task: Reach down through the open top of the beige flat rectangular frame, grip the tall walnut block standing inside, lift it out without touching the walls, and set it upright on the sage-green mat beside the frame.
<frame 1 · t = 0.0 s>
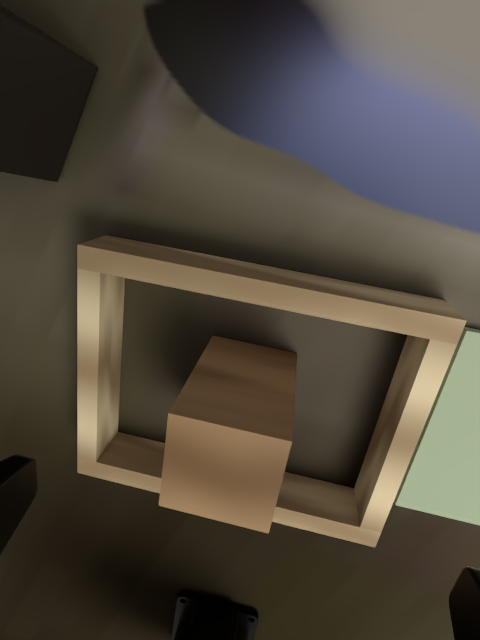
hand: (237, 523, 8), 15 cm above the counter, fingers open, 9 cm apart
beige flat rectangular frame: (247, 381, 24), on the counter
phone stand: (4, 80, 20), on the counter
walnut block: (236, 419, 20), in the beige flat rectangular frame
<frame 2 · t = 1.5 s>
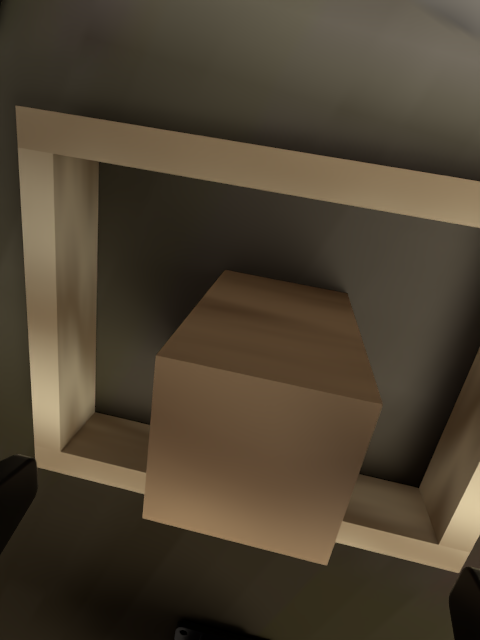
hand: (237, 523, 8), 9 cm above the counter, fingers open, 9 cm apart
beige flat rectangular frame: (273, 337, 17), on the counter
walnut block: (264, 384, 13), in the beige flat rectangular frame
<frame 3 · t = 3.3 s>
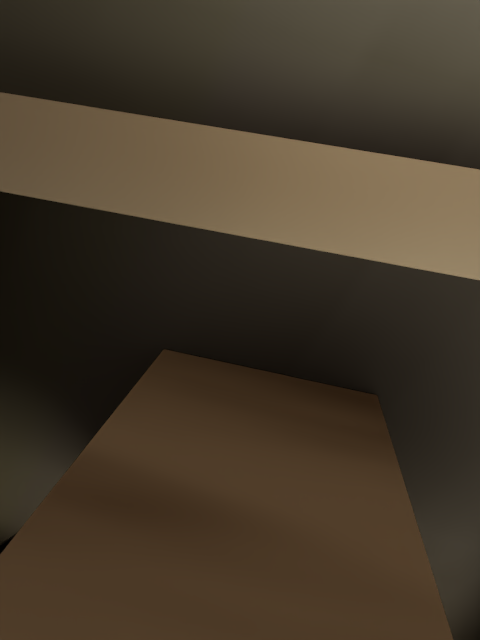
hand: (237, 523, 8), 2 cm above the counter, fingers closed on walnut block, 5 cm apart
beige flat rectangular frame: (250, 457, 10), on the counter
walnut block: (216, 624, 6), in the beige flat rectangular frame, touching gripper
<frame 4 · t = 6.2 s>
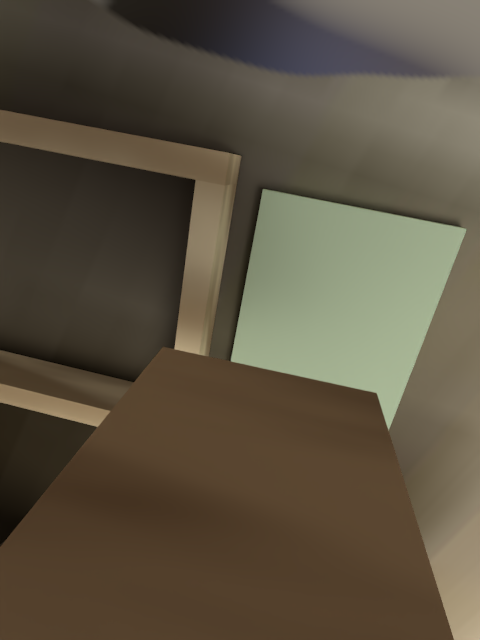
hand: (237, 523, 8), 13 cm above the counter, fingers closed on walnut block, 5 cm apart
beige flat rectangular frame: (53, 266, 21), on the counter
mat: (327, 327, 20), on the counter
walnut block: (215, 621, 6), point 15 cm above the counter, touching gripper
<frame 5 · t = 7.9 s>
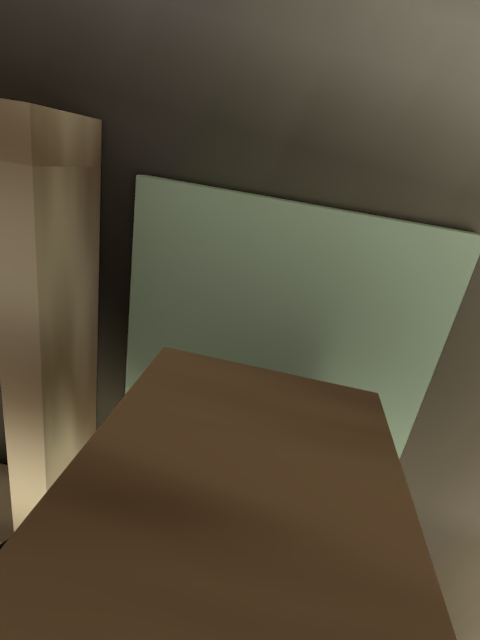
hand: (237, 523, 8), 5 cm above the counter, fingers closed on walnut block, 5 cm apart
mat: (265, 391, 13), on the counter
walnut block: (217, 622, 6), point 7 cm above the counter, touching gripper
when the fingers open (4 cm above the counter, at t = 9.0 s): walnut block drops 1 cm, resting on mat.
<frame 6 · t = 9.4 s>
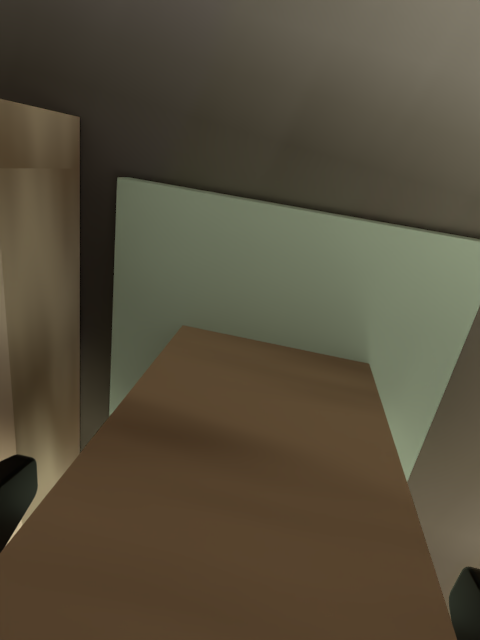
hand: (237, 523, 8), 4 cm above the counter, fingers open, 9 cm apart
mat: (260, 410, 12), on the counter
walnut block: (234, 543, 8), on the mat, point 5 cm above the counter
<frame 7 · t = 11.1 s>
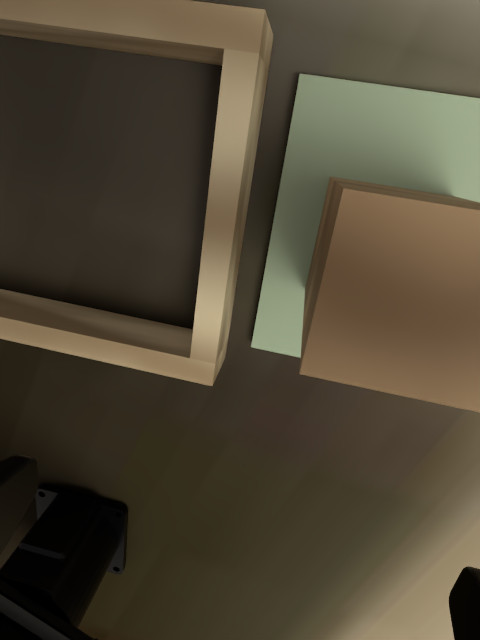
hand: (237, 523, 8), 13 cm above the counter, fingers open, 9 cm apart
beige flat rectangular frame: (61, 188, 19), on the counter
mat: (372, 244, 18), on the counter
walnut block: (390, 269, 13), on the mat, point 5 cm above the counter
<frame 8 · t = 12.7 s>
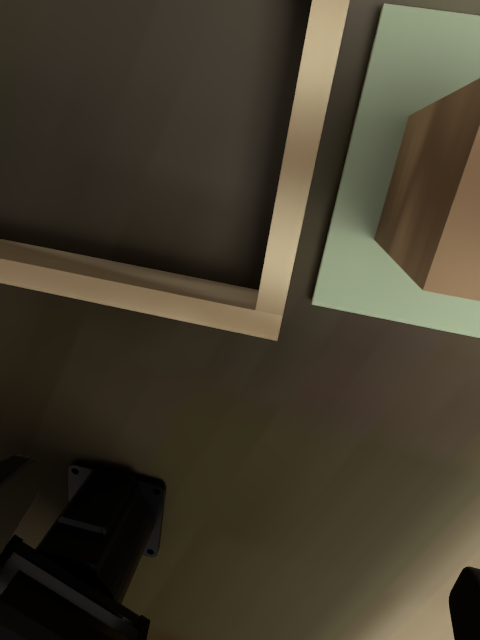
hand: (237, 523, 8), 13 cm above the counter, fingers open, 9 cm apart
beige flat rectangular frame: (116, 135, 18), on the counter
mat: (446, 191, 17), on the counter
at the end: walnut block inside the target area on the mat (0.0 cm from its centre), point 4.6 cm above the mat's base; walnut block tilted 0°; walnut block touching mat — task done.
